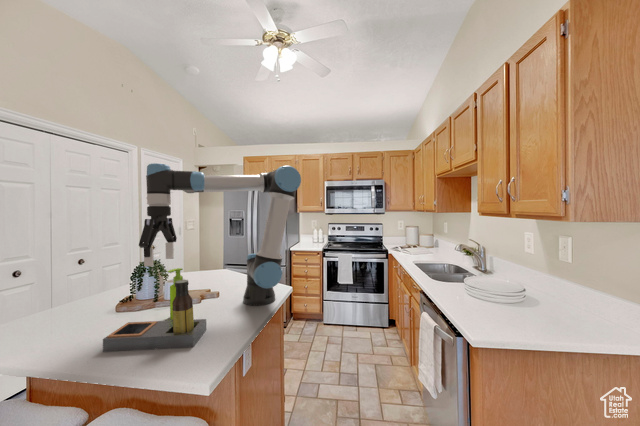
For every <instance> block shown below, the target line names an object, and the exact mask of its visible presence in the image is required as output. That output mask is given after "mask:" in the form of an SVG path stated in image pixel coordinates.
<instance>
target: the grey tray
mask: <svg viewBox="0 0 640 426" xmlns="http://www.w3.org/2000/svg"><path fill="white" fill-rule="evenodd" d="M206 331H207V319H206V318H198V319H194V329H193V330H192V331H191V332H182V333H173V320H172V319H171V320H154V321H131V322H126V323H124V324H123V325H122V326H120V327H119V328H117V329H116V330H114V331H112V332H111V333H110V334H108V335H106V337H104V338H103V339H102V352H103V353H105V352H106V353H108V352H126V351H145V350H146V351H147V350H148V351H149V350H163V349H164V350H165V349H166V350H167V349H168V350H169V349H182V348H183V349H184V348H185V349H186V348H194V347H195V346H196V345H197V343H198V341H200V340H201V338H202V336H203V335H204V334H205V333H206Z"/></svg>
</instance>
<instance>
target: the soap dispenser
mask: <svg viewBox="0 0 640 426" xmlns="http://www.w3.org/2000/svg"><path fill="white" fill-rule="evenodd" d="M181 271H183V268H182V267H179V268H172V269H169V270H168V271H167V273H170V274H172V273H174V272H175V275H174V276H173V278H172V280H173V281H172V282H173V284H171V285H170V286H169V313H170V315H169V316H170V317H169V318H170V320H171V321H172V320H173V310H172V308H173V300H174V299H175V297H176V287H175V282H176V281H179V280H184V277H183V275H181Z"/></svg>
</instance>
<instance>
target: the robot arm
mask: <svg viewBox="0 0 640 426" xmlns="http://www.w3.org/2000/svg"><path fill="white" fill-rule="evenodd" d="M145 177H146V204H147V205H148V206H147V207H146V215H147V217H150V218H146V219H144V225H143V229H142V232H141V234H140V235H141V236H140V239H139V243H138V247H139V248H140V249H143V267H154V247H153V244H154V241H155V239H156V236H157V235H158V233H159V232H161V233H162V235H163V237H164V239H165V241H166V242H165V259H166V260H173V259H175V257H174V256H175V254H174V250H175V249H174V243H176V242H177V238H178V237H177V235H176V231H175V227H174V224H173V218H172V217H170V216H171V215H172V214H171V213H172V212H171V211H172V207H171V206H170V205H171V203H172V198H171V191H182V192H184V193H186V194H196V193H214V192H215V193H219V192H253V191H255V192H257V191H259V192H261V193H262V194H263V193H269V195H270V198H271V199H270V204H269V208H268V213H267V219H266V223H265V227H264V233H263V236H262V237H263V238H262V241H261V245H260V246H261V247H260V249H259V251H257V252H256V253H248V254H247V256H246V287H245V291H244V294H243V296H242V298H243V299H242V300H243V304H246V305H249V306H264V305H268V304H271V303H273V302H274V301H276V293H275V290H274V287H275V286H277V285H278V284H279V283H280V282H281V280H282V278H283V270H282V267H281V266H282V262H283V256H281V249H282V244H283V239H284V235H285V229H286V225H287V220H288V214H289V210H290V204H291V202H292V201H293V200H295V197H296V193H297V190H298V189H299V187H300V186H301V183H302V177H301V174H300V172H299V171H298V170H297V168H295V167H294V166H291V165H282V166H279V167H278V168H277V169H274V170H273V171H268V172H260V173H259V174H232V175H231V174H225V175H224V174H220V175H215V174H211V175H210V174H209V175H207V174H205V173H204V172H202V171H196V170H193V171H192V170H191V171H189V170H172V169H171V166H170V165H169V164H166V163H165V164H164V163H155V162H154V163H149V164H148V165H147V166H146V176H145Z"/></svg>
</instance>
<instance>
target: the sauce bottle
mask: <svg viewBox="0 0 640 426" xmlns="http://www.w3.org/2000/svg"><path fill="white" fill-rule="evenodd" d="M175 287H176V297H175V299H174V300H173V308H172V310H173V333H182V332H191V331H192V330H193V329H194V320H195V319H194V305H193V304H194V302H193V297H191V295H190V293H189V280H188V279H183V280H179V281H176V282H175Z"/></svg>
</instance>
